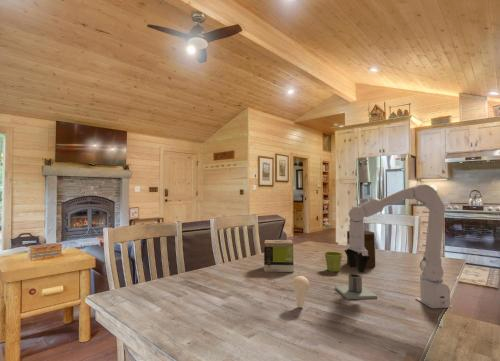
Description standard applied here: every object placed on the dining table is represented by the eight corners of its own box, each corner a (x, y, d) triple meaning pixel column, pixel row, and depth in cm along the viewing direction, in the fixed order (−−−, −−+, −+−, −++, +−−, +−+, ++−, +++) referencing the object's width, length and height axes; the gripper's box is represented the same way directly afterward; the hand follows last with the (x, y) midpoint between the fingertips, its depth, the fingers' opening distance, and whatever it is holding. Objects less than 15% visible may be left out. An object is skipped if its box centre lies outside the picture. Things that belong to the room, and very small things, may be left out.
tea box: (292, 267, 158) (292, 239, 158) (293, 272, 148) (293, 243, 148) (264, 266, 159) (264, 239, 160) (263, 271, 149) (263, 242, 150)
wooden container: (341, 262, 169) (341, 224, 170) (363, 260, 174) (363, 223, 174) (358, 269, 155) (358, 227, 156) (381, 267, 160) (381, 226, 160)
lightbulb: (297, 302, 109) (297, 272, 109) (312, 307, 105) (312, 276, 105) (288, 307, 104) (288, 276, 105) (304, 312, 100) (304, 280, 101)
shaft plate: (377, 298, 114) (377, 287, 114) (347, 299, 113) (347, 288, 113) (362, 287, 126) (362, 278, 126) (335, 288, 125) (335, 279, 125)
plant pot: (339, 274, 146) (338, 256, 146) (321, 270, 152) (321, 253, 152) (345, 270, 153) (345, 253, 154) (328, 267, 159) (328, 250, 159)
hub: (364, 292, 117) (364, 277, 117) (352, 293, 117) (352, 277, 117) (358, 288, 122) (358, 273, 122) (346, 288, 122) (346, 274, 122)
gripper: (340, 233, 127) (340, 265, 127) (355, 239, 113) (355, 275, 112) (355, 233, 128) (355, 264, 127) (373, 239, 113) (373, 274, 113)
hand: (356, 269), depth 120 cm, fingers open, 7 cm apart
